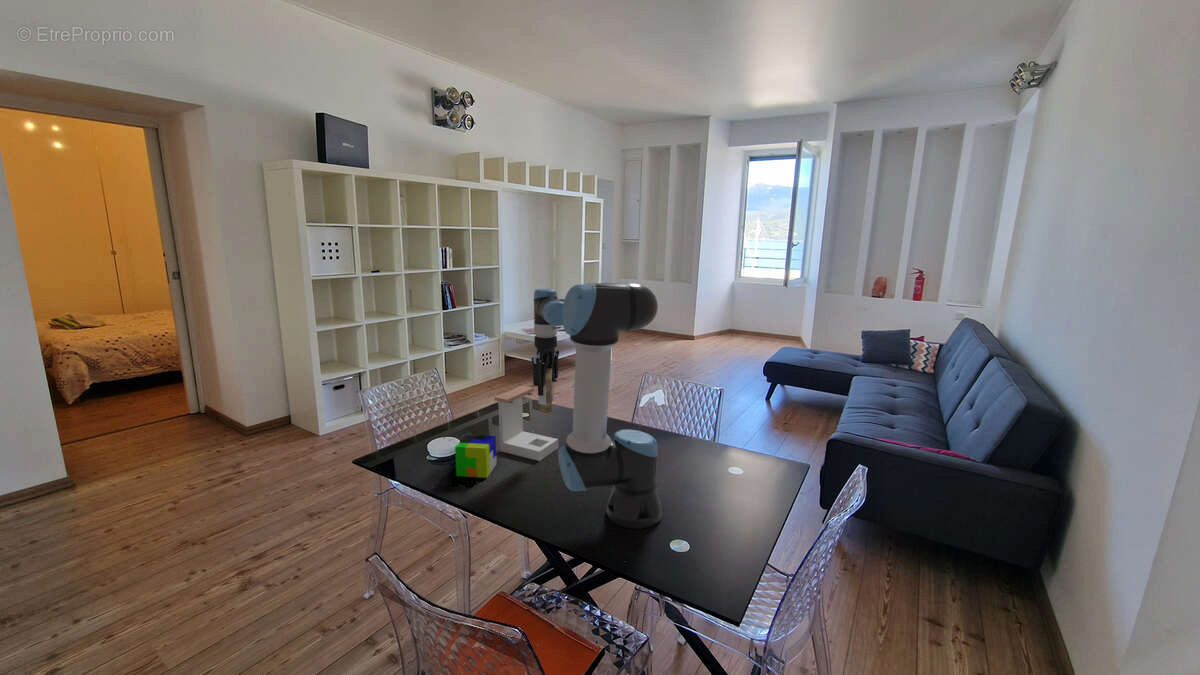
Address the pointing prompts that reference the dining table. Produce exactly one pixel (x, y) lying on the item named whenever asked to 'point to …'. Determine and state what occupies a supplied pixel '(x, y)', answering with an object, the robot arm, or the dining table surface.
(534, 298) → the robot arm
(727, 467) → the dining table surface
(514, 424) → the wood-topped pedestal
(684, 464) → the dining table surface
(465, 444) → the puzzle toy
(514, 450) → the socket board
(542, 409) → the dowel
